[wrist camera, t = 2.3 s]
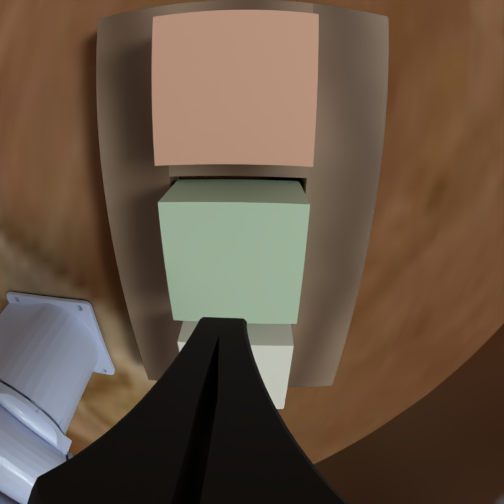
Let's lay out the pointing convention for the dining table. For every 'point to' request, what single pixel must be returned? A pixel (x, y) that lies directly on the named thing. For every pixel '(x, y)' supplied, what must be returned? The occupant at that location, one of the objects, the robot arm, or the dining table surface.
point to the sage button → (234, 248)
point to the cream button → (263, 354)
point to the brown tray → (312, 178)
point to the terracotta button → (235, 87)
